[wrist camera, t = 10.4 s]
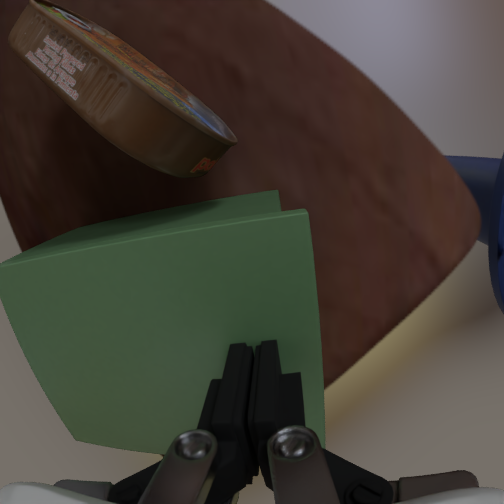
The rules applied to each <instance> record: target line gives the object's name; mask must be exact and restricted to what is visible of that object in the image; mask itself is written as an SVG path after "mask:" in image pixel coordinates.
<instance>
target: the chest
mask: <svg viewBox="0 0 504 504" xmlns="http://www.w3.org/2000/svg"><path fill="white" fill-rule="evenodd" d="M276 212H281V205H280V199H279V192H278V190H272V191H265V192H259V193H252V194H246V195H240V196H233V197H227V198H221V199H216V200H210V201H204V202H199V203H193V204H188V205H182V206H177V207H172V208H166V209H161V210H156V211H151V212H146V213H142V214H137V215H132V216H127V217H123V218H118V219H113V220H109V221H104V222H100V223H96V224H91V225H87V226H83V227H79V228H76V229H74V230H72V231H69V232H67V233H65V234H62V235H60V236H58V237H55V238H53V239H51V240H49V241H46V242H44V243H42V244H40V245H38V246H35V247H33V248H31V249H29V250H27V251H25V252H23V253H20V254H19V255H16V256H14V257H12V258H10V259H8V260H6V261H4V262H8V261H13V260H17V259H22V258H26V257H31V256H35V255H40V254H44V253H49V252H54V251H59V250H63V249H68V248H73V247H78V246H83V245H88V244H93V243H98V242H103V241H108V240H114V239H119V238H124V237H130V236H135V235H140V234H146V233H151V232H157V231H163V230H169V229H174V228H180V227H186V226H192V225H198V224H204V223H210V222H216V221H223V220H229V219H235V218H242V217H249V216H255V215H262V214H269V213H276ZM4 262H2V263H4Z"/></svg>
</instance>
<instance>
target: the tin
mask: <svg viewBox="0 0 504 504" xmlns="http://www.w3.org/2000/svg"><path fill="white" fill-rule="evenodd" d="M8 42H9V45H10V47H11V49H12V50H13V52H14V53H15V54H16V55H17V56H18V57H19V58H20V59H21V60H22V61H23V62H24V63H25V64H26V65H27V66H28V67H29V68H30V69H31V70H32V71H33V72H34V73H35V74H36V75H37V76H38V77H39V78H40V79H41V80H42V81H43V82H44V83H45V84H46V85H47V86H49V88H50V89H51V90H52V91H54V92H55V93H56V94H57V95H58V96H59V97H60V98H61V99H62V100H63V101H64V102H65V103H66V104H67V105H68V106H70V107H71V108H72V109H73V110H74V111H75V112H76V113H77V114H78V115H79V116H80V117H81V118H82V119H83V120H84V121H86V122H87V123H88V124H89V125H90V126H91V127H92V128H93V129H94V130H95V131H97V132H98V133H99V134H100V135H101V136H103V137H104V138H105V139H106V140H108V141H109V142H110V143H112V144H113V145H115V146H116V147H118V148H119V149H121V150H122V151H124V152H125V153H127V154H128V155H130V156H131V157H133V158H135V159H136V160H138V161H140V162H142V163H144V164H146V165H147V166H149V167H151V168H153V169H156V170H158V171H160V172H163V173H166V174H168V175H171V176H175V177H180V178H188V177H199V176H203V175H204V174H206V173H207V172H208V171H209V170H210V169H211V168H212V167H213V166H214V165H215V163H216V162H217V161H218V160H219V159H220V158H221V157H222V155H223V154H224V153H225V152H226V151H227V150H228V149H229V148H230V147H231V146H234V145H236V144H237V142H238V140H237V138H236V137H235V135H234V134H233V133H232V131H231V130H230V129H229V127H228V126H227V125H226V124H225V123H224V122H223V121H222V120H221V119H220V118H219V117H218V116H217V115H216V114H215V113H214V112H213V111H212V110H211V109H209V108H208V107H207V106H205V105H204V104H203V103H202V102H201V101H200V100H199V99H198V98H197V97H195V96H194V95H193V94H192V93H190V92H189V91H188V90H187V89H185V88H184V87H183V86H182V85H181V84H179V83H178V82H177V81H175V80H174V79H173V78H172V77H170V76H169V75H168V74H166V73H165V72H164V71H163V70H161V69H160V68H159V67H157V66H156V65H155V64H154V63H152V62H151V61H150V60H148V59H147V58H146V57H144V56H143V55H142V54H140V53H139V52H138V51H136V50H135V49H134V48H132V47H131V46H129V45H128V44H127V43H125V42H124V41H122V40H121V39H119V38H118V37H116V36H115V35H113V34H112V33H110V32H109V31H107V30H106V29H104V28H102V27H101V26H99V25H97V24H95V23H94V22H92V21H90V20H88V19H86V18H84V17H82V16H80V15H79V14H77V13H74V12H72V11H70V10H68V9H66V8H64V7H62V6H60V5H57V4H55V3H53V2H50V1H47V0H29V4H28V5H27V7H26V8H25V10H24V11H23V13H22V14H21V16H20V17H19V19H18V20H17V22H16V23H15V25H14V27H13V28H12V30H11V32H10V35H9V38H8Z"/></svg>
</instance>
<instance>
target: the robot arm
mask: <svg viewBox="0 0 504 504" xmlns="http://www.w3.org/2000/svg"><path fill="white" fill-rule="evenodd" d="M259 466H260V469H261V473H262V475H263V477H264V481H265V484H266V486H267V487H268V488H269V489H271V490H272V491H274V498H275V504H504V490H502V489H498V488H489V487H479V484H478V481H477V478H476V476H474V475H473V474H472V473H471V472H468V471H465V470H463V471H462V470H460V471H459V470H457V471H452V472H446V473H439V474H431V475H424V476H414V477H402V478H399V480H398V481H387V480H385V479H384V478H382V477H380V476H378V475H375V474H373V473H371V472H369V471H367V470H365V469H363V468H361V467H359V466H357V465H355V464H353V463H351V462H348V461H347V460H345V459H343V458H341V457H339V456H337V455H335V454H333V453H331V452H329V451H327V450H326V449H324V448H322V447H321V444H320V441H319V438H318V436H317V434H316V432H314V431H313V430H312V429H310V428H308V427H306V424H305V412H304V400H303V389H302V379H301V372H295V373H286V374H282V370H281V364H280V357H279V351H278V344H277V340H266V341H261V345H256V349H255V357H254V353H253V348H252V346H247V344H246V343H235V344H230V347H229V351H228V355H227V359H226V363H225V367H224V371H223V376H222V379H212V380H211V382H210V385H209V388H208V391H207V395H206V398H205V402H204V405H203V409H202V412H201V416H200V419H199V423H198V426H197V429H193V430H188V431H185V432H183V433H181V434H179V435H178V436H177V437H176V438H175V439H174V440H173V441H172V443H171V445H170V446H169V448H168V450H167V452H166V454H165V455H164V457H163V459H162V460H161V461H159V462H157V463H155V464H154V465H151V466H150V467H148V468H146V469H144V470H142V471H140V472H138V473H136V474H134V475H132V476H129V477H128V478H125V479H123V480H121V481H120V482H118V483H116V484H115V485H113V484H112V483H111V482H96V481H79V480H60V481H58V482H56V483H55V484H54V485H49V484H44V483H36V482H16V483H10V484H8V485H6V486H4V487H3V488H2V489H0V504H237V501H238V498H239V491H240V490H241V489H243V488H244V487H246V484H252V479H253V476H258V474H259Z"/></svg>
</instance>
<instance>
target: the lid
mask: <svg viewBox="0 0 504 504" xmlns="http://www.w3.org/2000/svg"><path fill="white" fill-rule="evenodd" d="M0 298H1V301H2V303H3V306H4V308H5V311H6V314H7V316H8V319H9V321H10V324H11V326H12V328H13V331H14V333H15V335H16V337H17V340H18V342H19V344H20V346H21V348H22V350H23V353H24V355H25V357H26V358H27V360H28V363H29V365H30V366H31V369H32V370H33V372H34V374H35V376H36V378H37V380H38V381H39V383H40V385H41V387H42V389H43V390H44V392H45V394H46V396H47V397H48V399H49V400H50V402H51V404H52V406H53V407H54V409H55V410H56V412H57V414H58V415H59V416H60V418H61V420H62V421H63V423H64V424H65V426H66V427H67V429H68V430H69V432H70V433H71V435H72V436H73V437H74V439H75V440H77V441H82V442H86V443H91V444H96V445H101V446H106V447H112V448H117V449H124V450H130V451H138V452H146V453H155V454H166V452H167V450H168V448H169V446H170V445H171V443H172V441H173V440H174V439H175V438H176V437H177V436H178V435H179V434H181V433H183V432H185V431H188V430H193V429H197V426H198V423H199V419H200V416H201V412H202V409H203V405H204V402H205V398H206V395H207V391H208V388H209V385H210V382H211V380H212V379H222V376H223V371H224V367H225V363H226V359H227V355H228V351H229V347H230V344H235V343H246V344H247V346H252V348H253V353H254V357H255V349H256V345H261V341H266V340H277V344H278V351H279V357H280V364H281V370H282V374H286V373H295V372H301V379H302V389H303V400H304V412H305V424H306V427H308V428H310V429H312V430H313V431H314V432H316V434H317V436H318V438H319V441H320V444H321V447H322V448H324V449H325V410H324V384H323V365H322V349H321V334H320V321H319V308H318V297H317V286H316V276H315V266H314V257H313V248H312V239H311V230H310V222H309V214H308V212H307V211H306V209H297V210H290V211H283V212H276V213H269V214H262V215H255V216H249V217H242V218H235V219H229V220H223V221H216V222H210V223H204V224H198V225H192V226H186V227H180V228H174V229H169V230H163V231H157V232H151V233H146V234H140V235H135V236H130V237H124V238H119V239H114V240H108V241H103V242H98V243H93V244H88V245H83V246H78V247H73V248H68V249H63V250H59V251H54V252H49V253H44V254H40V255H35V256H31V257H26V258H22V259H17V260H13V261H8V262H4V263H0Z"/></svg>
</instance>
